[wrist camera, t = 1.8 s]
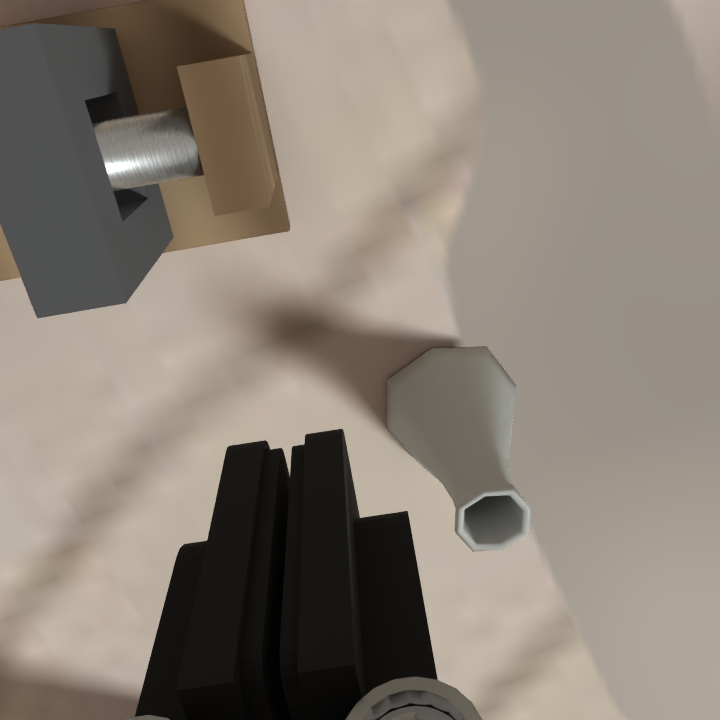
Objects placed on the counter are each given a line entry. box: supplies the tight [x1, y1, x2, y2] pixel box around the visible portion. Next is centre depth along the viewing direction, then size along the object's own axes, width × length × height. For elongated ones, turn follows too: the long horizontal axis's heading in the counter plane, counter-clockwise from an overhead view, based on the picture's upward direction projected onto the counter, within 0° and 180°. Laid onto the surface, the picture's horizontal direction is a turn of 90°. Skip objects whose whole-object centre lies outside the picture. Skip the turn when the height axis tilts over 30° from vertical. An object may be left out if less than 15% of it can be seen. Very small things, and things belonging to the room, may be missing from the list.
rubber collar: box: [0, 23, 174, 318], centre depth 25 cm, size 3×8×8 cm, turn 9°
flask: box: [387, 346, 531, 552], centre depth 32 cm, size 7×7×10 cm
